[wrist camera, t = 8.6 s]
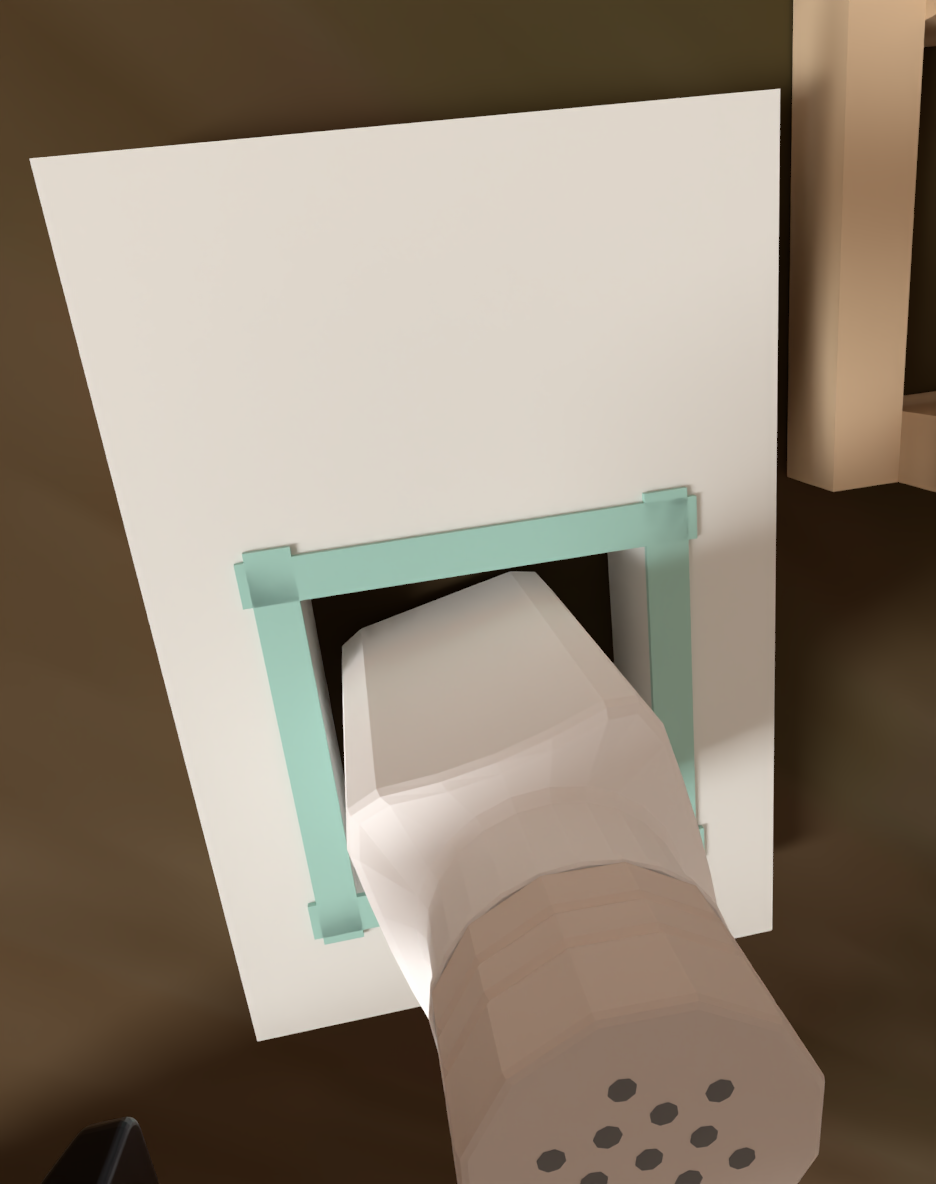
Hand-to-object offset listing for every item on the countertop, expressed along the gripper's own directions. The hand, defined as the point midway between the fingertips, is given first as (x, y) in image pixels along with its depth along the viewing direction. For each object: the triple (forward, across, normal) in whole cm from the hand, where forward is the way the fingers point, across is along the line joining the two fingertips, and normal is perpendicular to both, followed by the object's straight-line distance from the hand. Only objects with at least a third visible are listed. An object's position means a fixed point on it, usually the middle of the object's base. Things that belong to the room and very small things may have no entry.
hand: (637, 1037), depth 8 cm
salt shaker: (+9, 0, 0) cm, 9 cm away
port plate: (+8, 0, -2) cm, 9 cm away
